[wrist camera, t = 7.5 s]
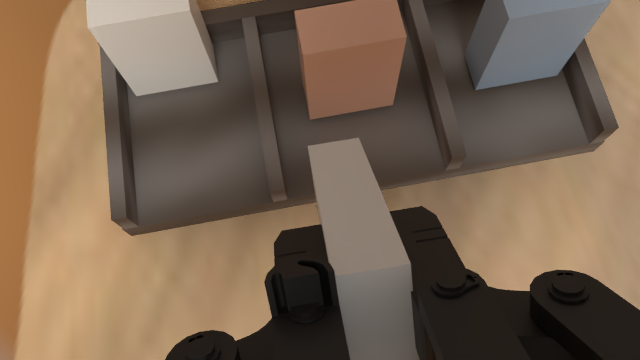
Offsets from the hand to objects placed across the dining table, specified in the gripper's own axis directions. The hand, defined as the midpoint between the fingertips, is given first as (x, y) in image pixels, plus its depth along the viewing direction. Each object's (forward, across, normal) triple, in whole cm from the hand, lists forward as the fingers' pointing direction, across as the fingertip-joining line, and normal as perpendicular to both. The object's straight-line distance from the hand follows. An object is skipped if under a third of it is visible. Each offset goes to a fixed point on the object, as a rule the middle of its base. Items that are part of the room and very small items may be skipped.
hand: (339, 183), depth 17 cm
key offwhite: (+20, -8, -1) cm, 22 cm away
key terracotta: (+18, +2, -3) cm, 18 cm away
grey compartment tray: (+19, +2, -4) cm, 20 cm away
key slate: (+18, +12, -3) cm, 22 cm away
